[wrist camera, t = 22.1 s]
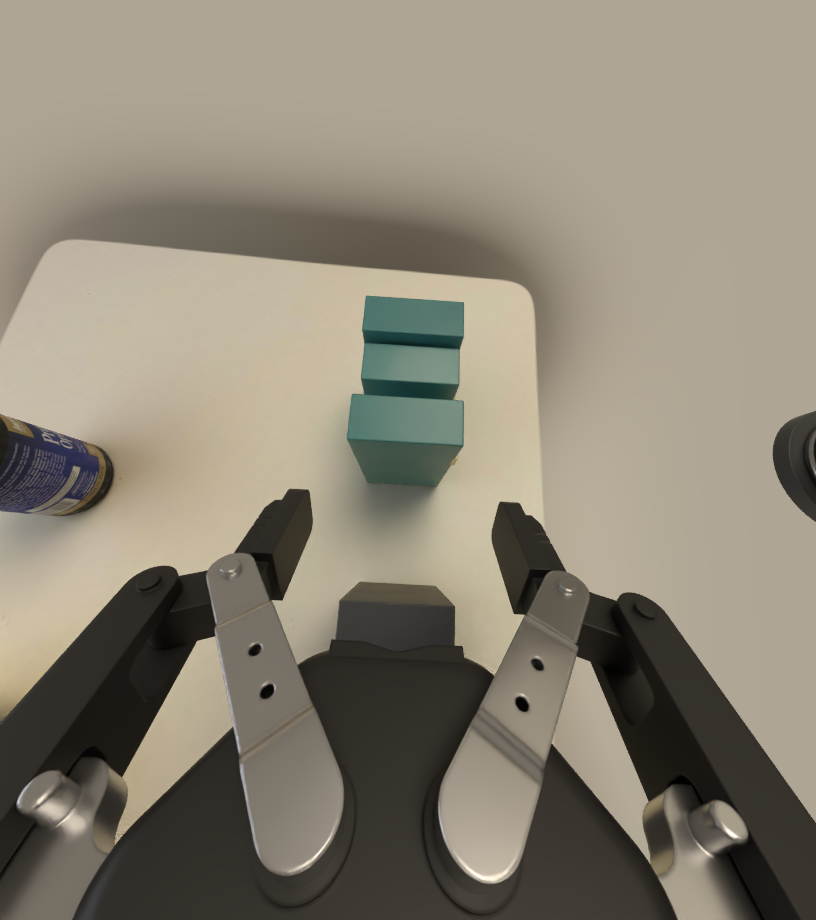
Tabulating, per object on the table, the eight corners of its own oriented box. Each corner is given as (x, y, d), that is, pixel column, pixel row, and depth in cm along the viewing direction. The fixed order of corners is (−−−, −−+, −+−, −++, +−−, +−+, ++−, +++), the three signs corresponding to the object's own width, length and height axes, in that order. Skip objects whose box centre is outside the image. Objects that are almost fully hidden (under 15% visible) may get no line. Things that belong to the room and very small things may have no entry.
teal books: (442, 387, 29) (466, 301, 19) (441, 440, 27) (466, 379, 17) (376, 383, 29) (365, 294, 19) (372, 436, 27) (357, 372, 17)
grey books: (435, 586, 24) (455, 606, 16) (432, 705, 22) (453, 800, 14) (359, 581, 24) (339, 600, 16) (348, 702, 22) (319, 795, 14)
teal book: (439, 457, 27) (466, 400, 16) (438, 487, 26) (466, 446, 16) (369, 453, 27) (351, 392, 16) (367, 482, 26) (346, 439, 16)
